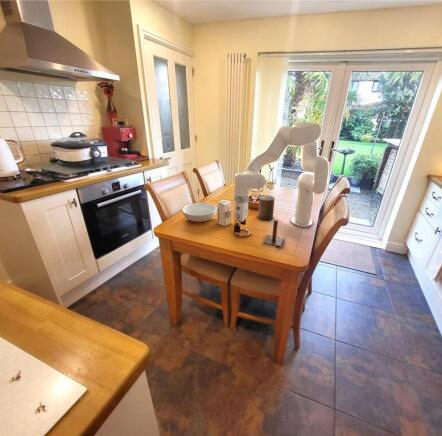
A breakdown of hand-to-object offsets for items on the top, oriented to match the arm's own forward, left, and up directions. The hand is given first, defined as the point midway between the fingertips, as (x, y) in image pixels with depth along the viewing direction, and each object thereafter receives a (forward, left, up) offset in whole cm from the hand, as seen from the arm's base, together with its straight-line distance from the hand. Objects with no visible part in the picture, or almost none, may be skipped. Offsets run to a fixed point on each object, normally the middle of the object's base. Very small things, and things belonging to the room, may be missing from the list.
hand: (239, 228), depth 124 cm
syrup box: (-12, -14, -6) cm, 19 cm away
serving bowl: (-14, -31, -6) cm, 34 cm away
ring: (-4, 0, -5) cm, 7 cm away
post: (-2, +18, -6) cm, 19 cm away
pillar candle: (-31, +7, -6) cm, 33 cm away
